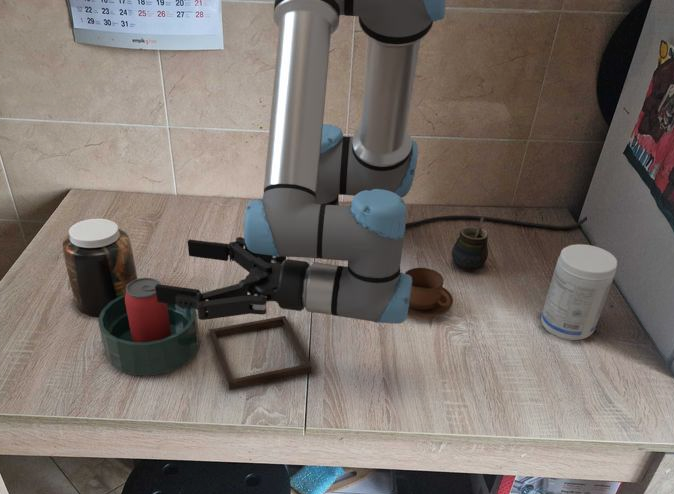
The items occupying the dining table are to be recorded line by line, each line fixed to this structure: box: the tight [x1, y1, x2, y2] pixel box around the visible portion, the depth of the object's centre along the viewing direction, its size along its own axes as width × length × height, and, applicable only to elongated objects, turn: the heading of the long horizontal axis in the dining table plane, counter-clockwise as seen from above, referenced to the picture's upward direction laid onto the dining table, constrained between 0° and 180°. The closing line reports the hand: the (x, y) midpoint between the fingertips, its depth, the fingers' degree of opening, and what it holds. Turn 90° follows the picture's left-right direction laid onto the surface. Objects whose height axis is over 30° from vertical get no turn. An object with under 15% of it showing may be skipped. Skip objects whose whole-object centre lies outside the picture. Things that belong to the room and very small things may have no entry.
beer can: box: [125, 277, 171, 342], centre depth 108 cm, size 7×7×12 cm
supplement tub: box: [540, 243, 618, 341], centre depth 114 cm, size 10×10×15 cm
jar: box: [62, 218, 138, 318], centre depth 118 cm, size 12×12×15 cm
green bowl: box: [97, 294, 201, 376], centre depth 109 cm, size 16×16×7 cm
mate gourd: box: [451, 215, 489, 273], centre depth 132 cm, size 7×8×10 cm
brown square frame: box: [208, 315, 313, 391], centre depth 111 cm, size 14×15×2 cm
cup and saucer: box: [404, 267, 454, 319], centre depth 121 cm, size 12×12×6 cm
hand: (173, 269), depth 101 cm, fingers open, 13 cm apart
